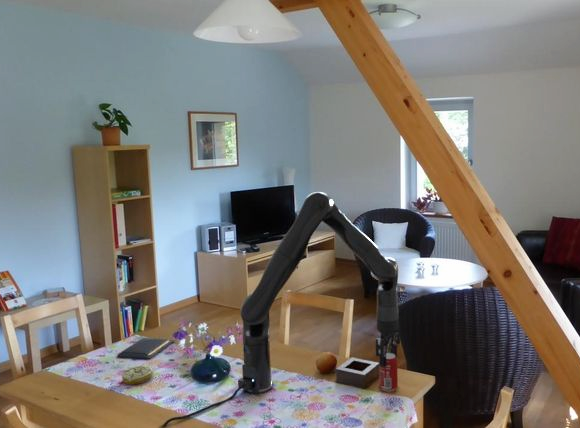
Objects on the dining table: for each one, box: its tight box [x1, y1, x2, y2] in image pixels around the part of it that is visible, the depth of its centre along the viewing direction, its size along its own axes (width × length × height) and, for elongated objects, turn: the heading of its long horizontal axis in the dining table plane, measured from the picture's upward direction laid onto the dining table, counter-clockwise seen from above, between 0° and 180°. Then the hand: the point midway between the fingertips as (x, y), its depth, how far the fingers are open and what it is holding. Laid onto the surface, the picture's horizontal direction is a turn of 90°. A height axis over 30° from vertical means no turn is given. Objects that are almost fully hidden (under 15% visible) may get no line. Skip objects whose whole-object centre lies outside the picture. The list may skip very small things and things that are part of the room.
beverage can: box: [378, 352, 399, 393], centre depth 196 cm, size 6×6×12 cm
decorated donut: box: [121, 364, 154, 385], centre depth 208 cm, size 10×11×4 cm
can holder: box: [335, 357, 379, 390], centre depth 205 cm, size 12×12×5 cm
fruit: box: [315, 351, 338, 374], centre depth 212 cm, size 8×8×8 cm
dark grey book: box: [117, 337, 174, 360], centre depth 238 cm, size 20×2×15 cm
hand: (388, 362), depth 196 cm, fingers open, 8 cm apart
